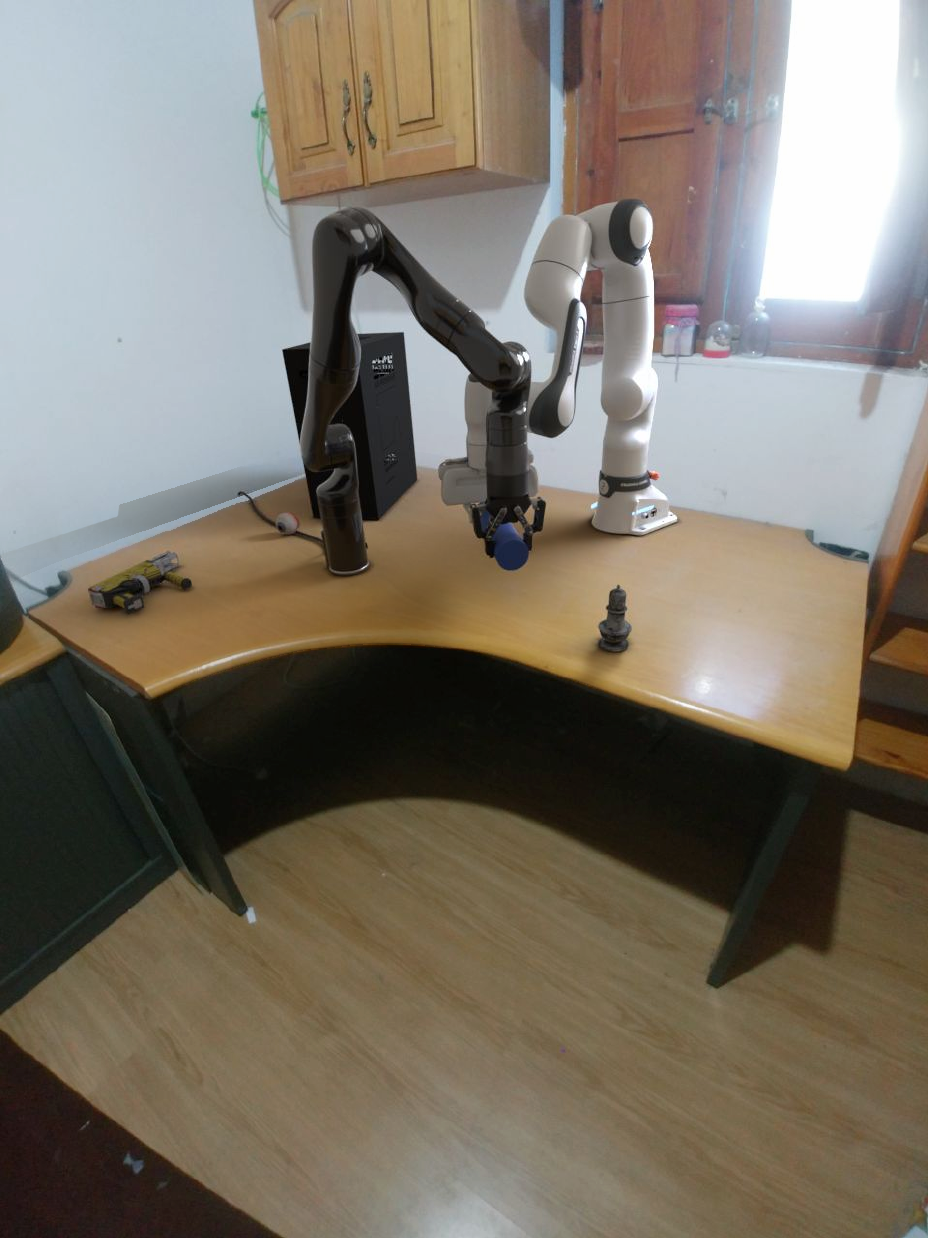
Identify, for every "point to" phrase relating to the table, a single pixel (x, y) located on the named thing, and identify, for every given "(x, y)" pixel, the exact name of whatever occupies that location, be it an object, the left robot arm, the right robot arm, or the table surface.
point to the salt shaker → (615, 623)
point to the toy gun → (136, 583)
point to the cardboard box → (367, 421)
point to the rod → (507, 545)
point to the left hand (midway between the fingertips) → (508, 554)
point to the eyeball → (287, 523)
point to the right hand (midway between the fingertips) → (490, 520)
